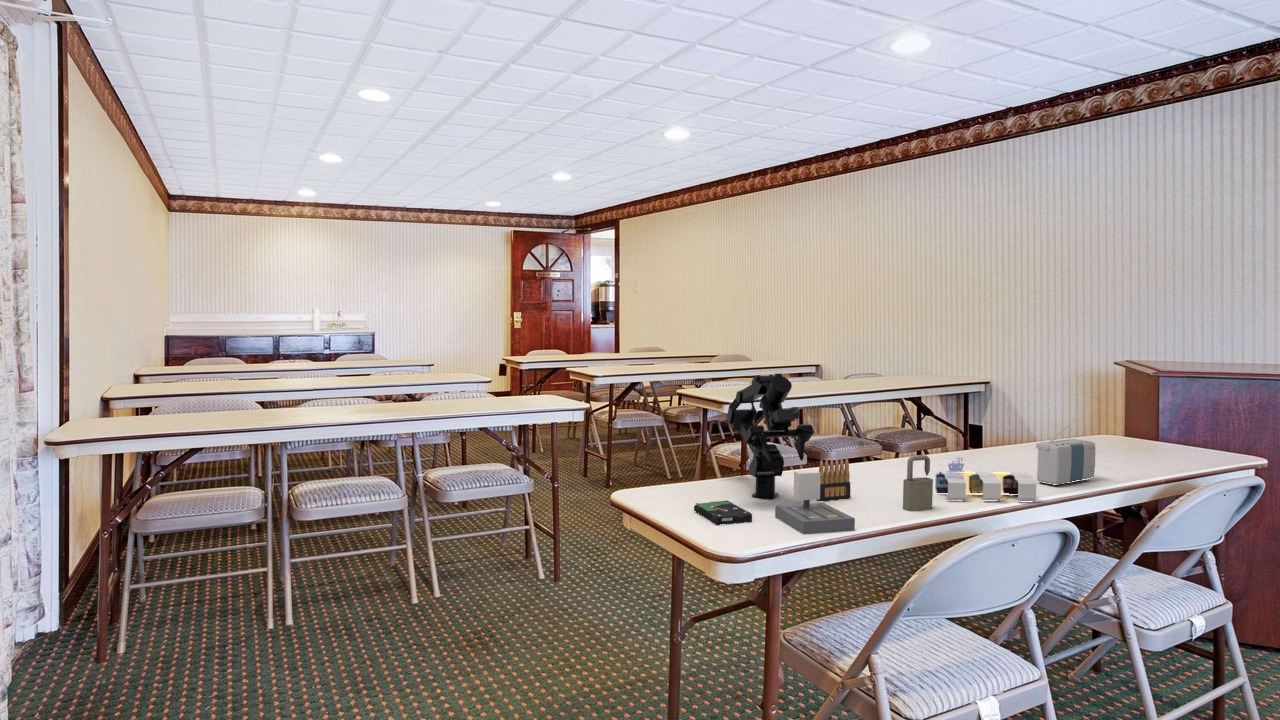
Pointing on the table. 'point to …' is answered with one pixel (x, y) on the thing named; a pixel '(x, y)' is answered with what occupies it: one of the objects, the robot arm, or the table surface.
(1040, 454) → the stereo radio cassette player
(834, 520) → the panel
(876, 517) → the table surface
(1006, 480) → the diorama
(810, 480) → the fader knob
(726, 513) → the disk drive
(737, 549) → the table surface
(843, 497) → the ammunition clip
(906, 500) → the padlock
